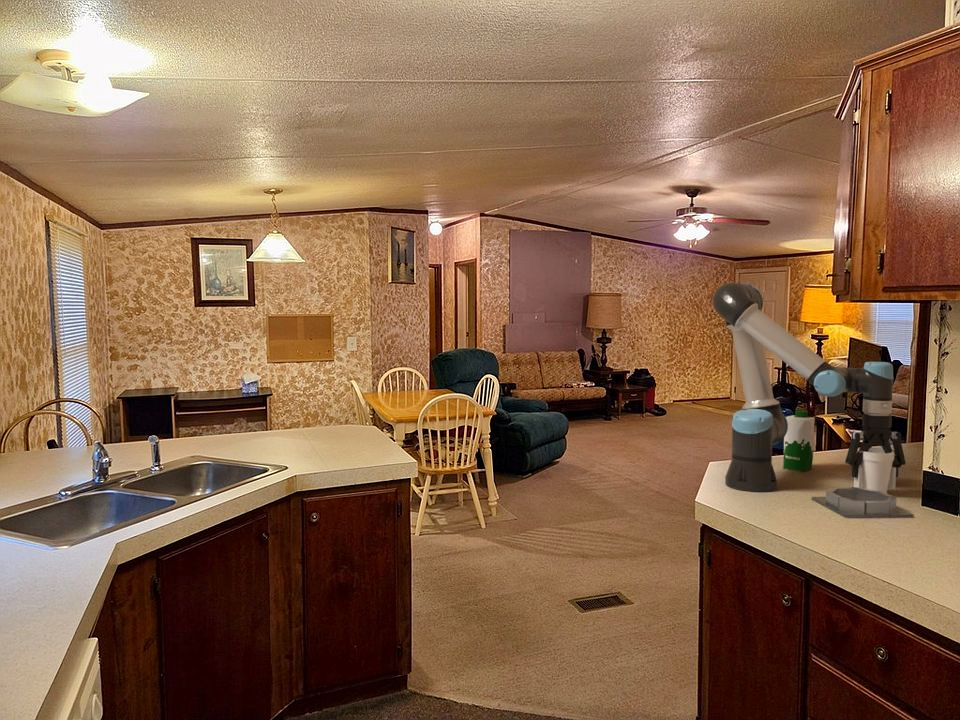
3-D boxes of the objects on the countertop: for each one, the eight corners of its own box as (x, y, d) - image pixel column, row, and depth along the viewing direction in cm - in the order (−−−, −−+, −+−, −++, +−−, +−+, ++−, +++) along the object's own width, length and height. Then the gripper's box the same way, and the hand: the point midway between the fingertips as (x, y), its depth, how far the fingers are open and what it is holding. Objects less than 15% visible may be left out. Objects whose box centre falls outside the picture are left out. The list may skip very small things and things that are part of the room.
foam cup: (897, 498, 198) (899, 454, 197) (862, 496, 200) (864, 453, 199) (885, 490, 207) (886, 448, 206) (851, 488, 209) (853, 447, 208)
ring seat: (846, 518, 179) (846, 503, 179) (811, 499, 197) (811, 486, 197) (913, 517, 179) (914, 503, 179) (872, 499, 197) (873, 486, 197)
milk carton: (815, 468, 236) (817, 411, 234) (804, 472, 230) (806, 414, 228) (790, 464, 242) (791, 409, 241) (779, 468, 236) (780, 411, 235)
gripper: (847, 416, 198) (844, 491, 199) (922, 415, 198) (919, 491, 200) (833, 412, 205) (830, 485, 207) (905, 411, 206) (902, 484, 207)
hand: (874, 488), depth 203 cm, fingers closed on foam cup, 9 cm apart
